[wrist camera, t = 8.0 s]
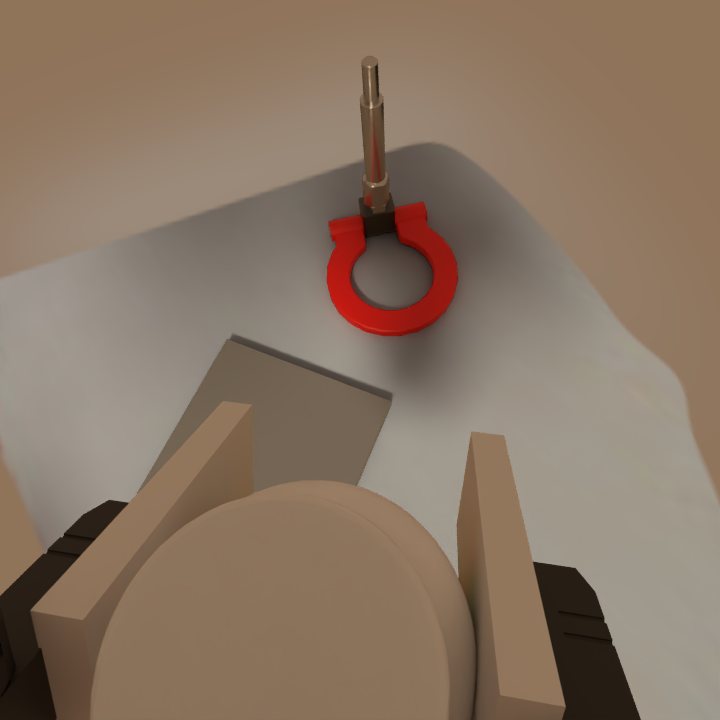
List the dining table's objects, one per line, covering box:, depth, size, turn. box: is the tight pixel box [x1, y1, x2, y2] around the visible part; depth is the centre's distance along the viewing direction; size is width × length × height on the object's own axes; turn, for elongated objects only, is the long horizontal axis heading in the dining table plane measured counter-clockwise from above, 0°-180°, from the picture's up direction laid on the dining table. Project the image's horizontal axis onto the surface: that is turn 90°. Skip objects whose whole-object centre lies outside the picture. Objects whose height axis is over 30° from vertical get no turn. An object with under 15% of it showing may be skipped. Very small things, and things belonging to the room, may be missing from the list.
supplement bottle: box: [90, 480, 477, 720], centre depth 10 cm, size 5×5×10 cm
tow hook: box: [327, 56, 458, 336], centre depth 28 cm, size 8×13×9 cm
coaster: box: [137, 339, 391, 494], centre depth 29 cm, size 11×11×1 cm
